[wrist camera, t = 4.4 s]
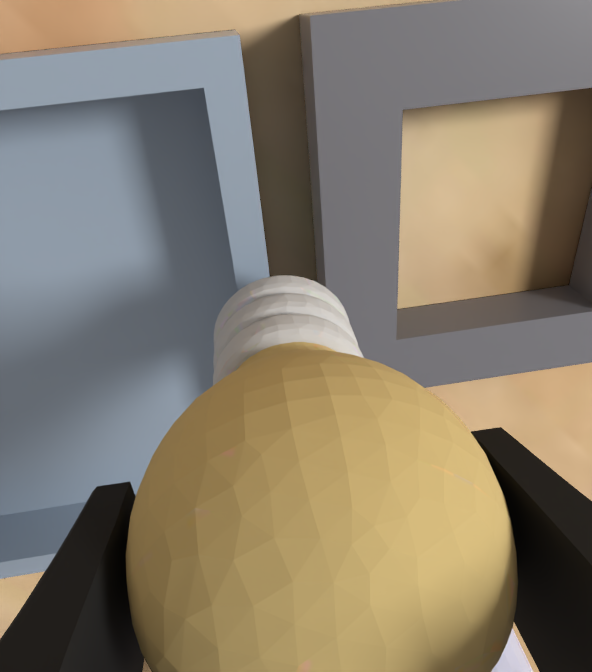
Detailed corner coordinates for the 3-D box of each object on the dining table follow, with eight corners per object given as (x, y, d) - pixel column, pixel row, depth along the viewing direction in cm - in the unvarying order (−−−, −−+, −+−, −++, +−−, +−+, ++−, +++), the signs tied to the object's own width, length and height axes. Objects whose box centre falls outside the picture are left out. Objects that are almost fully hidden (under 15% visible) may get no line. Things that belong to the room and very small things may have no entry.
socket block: (611, 327, 22) (643, 354, 20) (323, 370, 21) (332, 401, 19) (718, -29, 15) (780, -34, 13) (298, 14, 14) (310, 15, 13)
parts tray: (292, 474, 24) (301, 528, 22) (-60, 530, 23) (-93, 594, 21) (235, 29, 14) (239, 34, 12) (-384, 94, 13) (-523, 115, 11)
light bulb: (271, 436, 17) (319, 846, 9) (115, 323, 14) (-28, 795, 6) (430, 323, 15) (670, 708, 7) (291, 163, 12) (438, 524, 4)
